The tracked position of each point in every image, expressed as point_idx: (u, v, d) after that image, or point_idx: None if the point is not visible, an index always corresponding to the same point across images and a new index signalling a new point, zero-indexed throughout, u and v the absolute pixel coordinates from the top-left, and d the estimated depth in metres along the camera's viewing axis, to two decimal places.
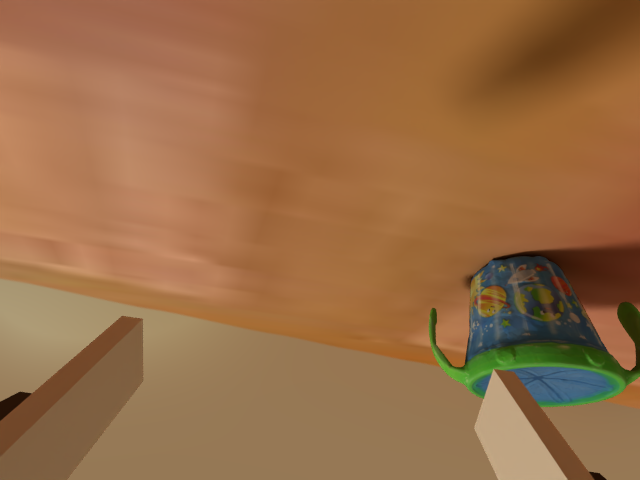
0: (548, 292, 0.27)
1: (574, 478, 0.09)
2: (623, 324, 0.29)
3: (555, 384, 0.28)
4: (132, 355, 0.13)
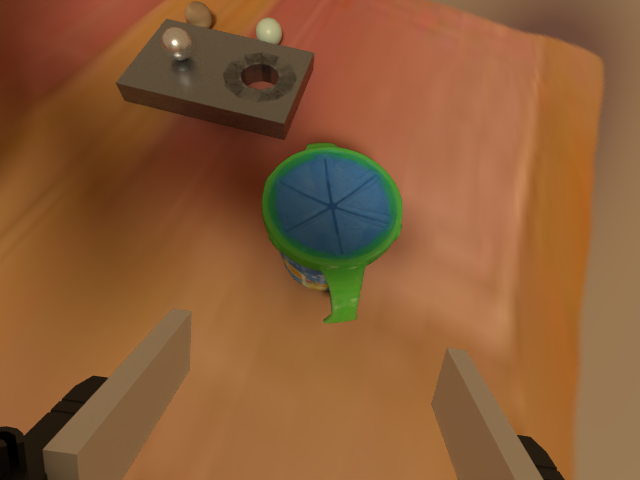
0: None
1: (500, 437, 0.10)
2: None
3: (343, 190, 0.28)
4: (183, 345, 0.14)
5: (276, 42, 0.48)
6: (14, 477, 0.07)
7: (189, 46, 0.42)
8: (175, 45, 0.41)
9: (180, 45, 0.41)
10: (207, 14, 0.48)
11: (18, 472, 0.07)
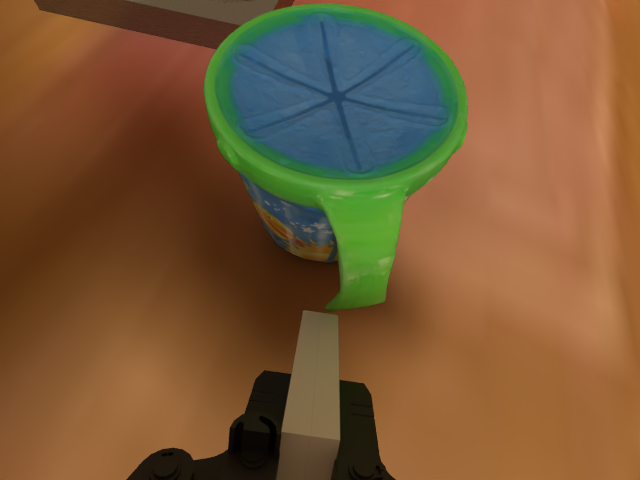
0: None
1: (322, 379, 0.11)
2: None
3: (357, 72, 0.16)
4: None
5: None
6: (269, 462, 0.08)
7: None
8: None
9: None
10: None
11: (272, 459, 0.08)
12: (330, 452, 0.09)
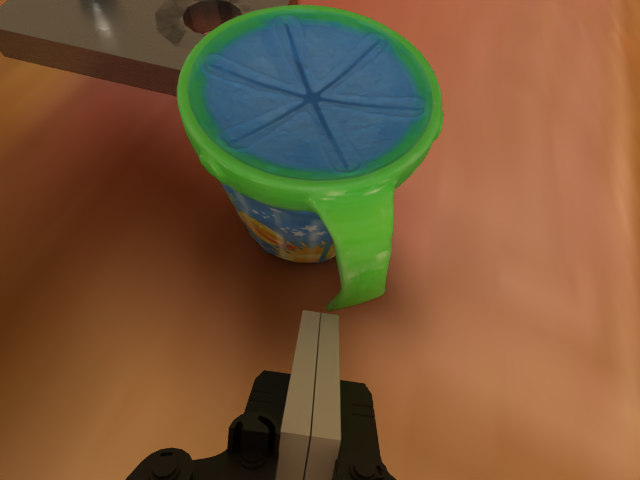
0: None
1: (322, 379, 0.11)
2: None
3: (328, 71, 0.16)
4: None
5: None
6: (268, 462, 0.08)
7: None
8: None
9: None
10: None
11: (271, 459, 0.09)
12: (331, 452, 0.09)
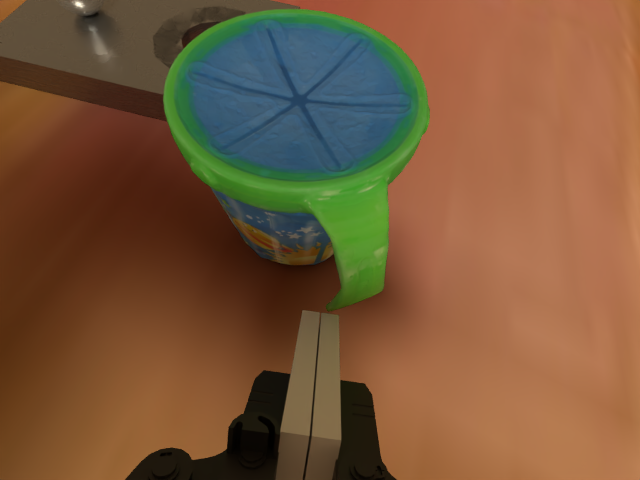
0: None
1: (322, 379, 0.11)
2: None
3: (313, 72, 0.16)
4: None
5: None
6: (268, 462, 0.08)
7: None
8: None
9: None
10: None
11: (271, 458, 0.09)
12: (331, 452, 0.09)
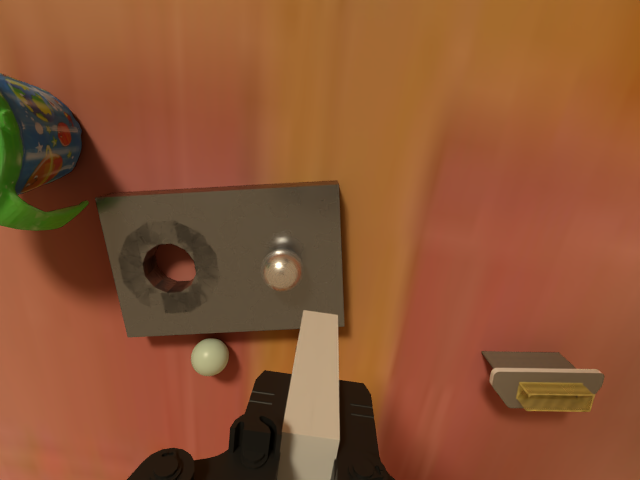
0: (48, 111, 0.26)
1: (321, 379, 0.11)
2: None
3: None
4: None
5: None
6: (269, 462, 0.08)
7: None
8: (270, 259, 0.28)
9: (266, 261, 0.28)
10: None
11: (272, 459, 0.08)
12: (330, 452, 0.09)
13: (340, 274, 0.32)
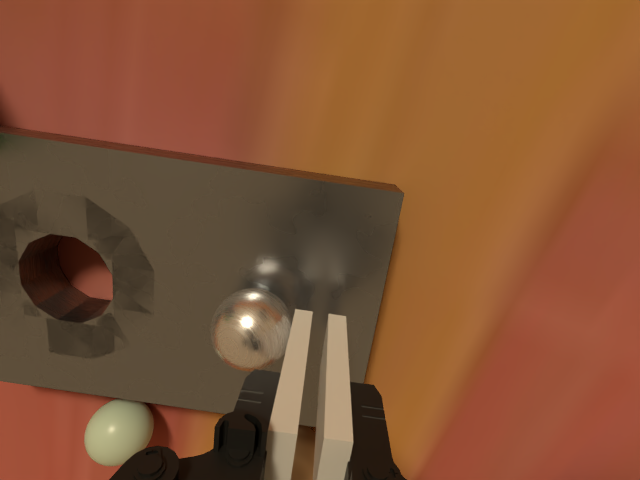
0: None
1: (332, 380, 0.11)
2: None
3: None
4: None
5: (101, 407, 0.21)
6: (255, 460, 0.08)
7: None
8: (228, 305, 0.15)
9: (221, 306, 0.15)
10: None
11: (257, 456, 0.09)
12: (343, 454, 0.09)
13: (367, 349, 0.18)
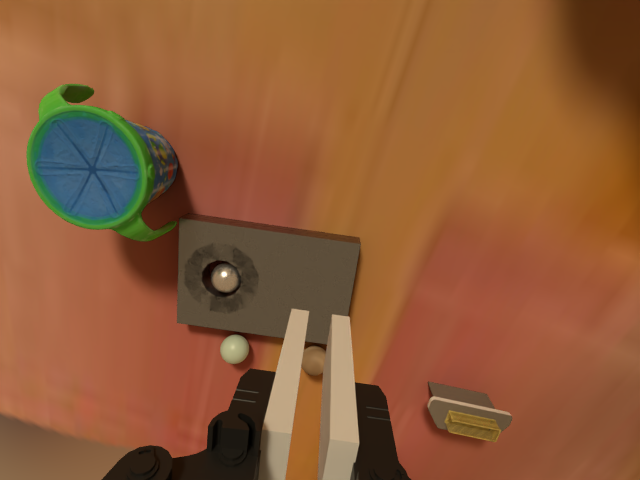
0: (165, 156, 0.36)
1: (337, 381, 0.11)
2: None
3: (90, 189, 0.32)
4: None
5: None
6: (248, 459, 0.08)
7: (212, 277, 0.41)
8: (224, 271, 0.40)
9: (220, 272, 0.40)
10: (302, 360, 0.44)
11: (251, 455, 0.09)
12: (349, 455, 0.09)
13: (347, 308, 0.42)
